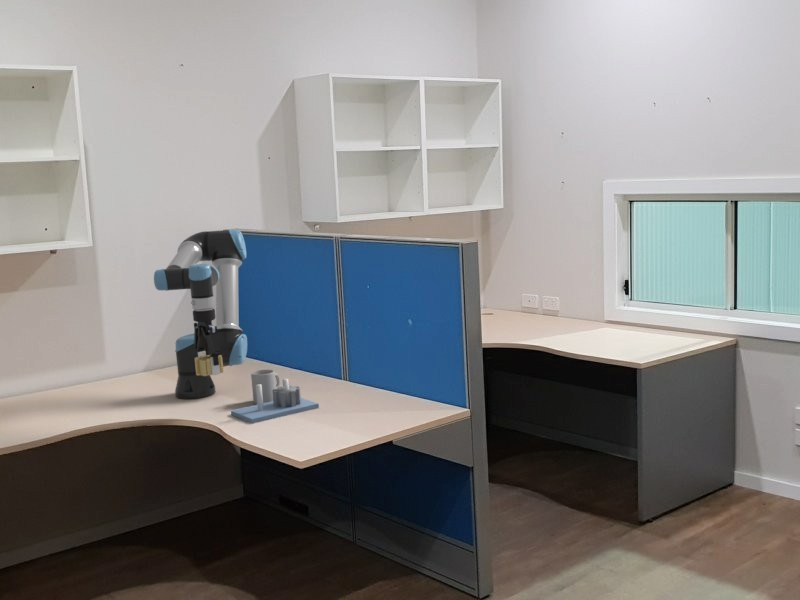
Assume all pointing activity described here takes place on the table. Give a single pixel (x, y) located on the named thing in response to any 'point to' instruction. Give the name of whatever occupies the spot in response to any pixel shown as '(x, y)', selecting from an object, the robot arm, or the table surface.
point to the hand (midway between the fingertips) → (209, 371)
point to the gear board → (275, 404)
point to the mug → (265, 384)
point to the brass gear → (206, 365)
